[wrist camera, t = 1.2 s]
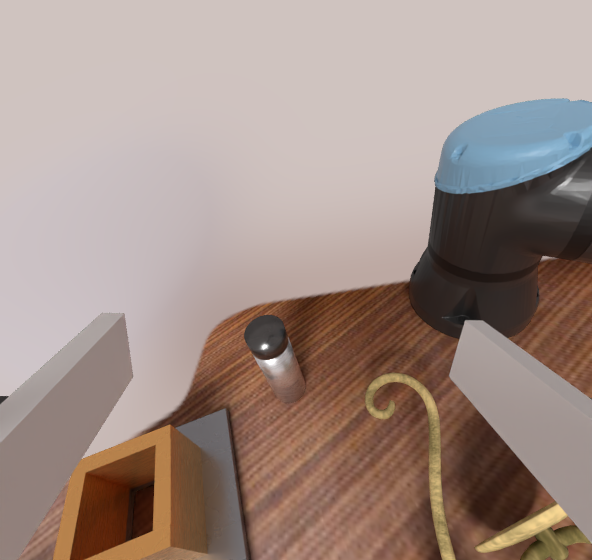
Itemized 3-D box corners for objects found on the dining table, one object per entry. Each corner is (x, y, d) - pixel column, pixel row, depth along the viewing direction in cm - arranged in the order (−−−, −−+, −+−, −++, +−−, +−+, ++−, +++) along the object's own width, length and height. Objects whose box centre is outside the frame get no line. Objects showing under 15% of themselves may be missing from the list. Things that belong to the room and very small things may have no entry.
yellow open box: (228, 411, 38) (201, 380, 32) (253, 588, 26) (219, 588, 21) (98, 462, 36) (47, 439, 31) (65, 672, 25) (-26, 696, 19)
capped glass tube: (300, 368, 40) (278, 309, 32) (310, 395, 37) (289, 339, 29) (270, 379, 40) (241, 323, 31) (278, 408, 37) (248, 355, 28)
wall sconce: (594, 954, 12) (323, 382, 29) (538, 806, 18) (345, 414, 36) (917, 773, 12) (452, 312, 29) (742, 692, 18) (450, 357, 36)
